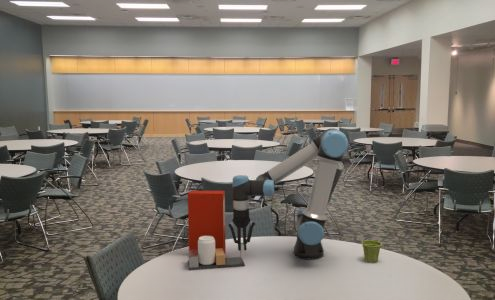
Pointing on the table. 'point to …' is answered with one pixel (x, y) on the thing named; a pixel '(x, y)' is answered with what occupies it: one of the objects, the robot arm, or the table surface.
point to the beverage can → (206, 250)
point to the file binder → (206, 217)
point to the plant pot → (371, 250)
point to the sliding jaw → (219, 256)
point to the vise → (229, 262)
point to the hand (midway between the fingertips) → (242, 256)
